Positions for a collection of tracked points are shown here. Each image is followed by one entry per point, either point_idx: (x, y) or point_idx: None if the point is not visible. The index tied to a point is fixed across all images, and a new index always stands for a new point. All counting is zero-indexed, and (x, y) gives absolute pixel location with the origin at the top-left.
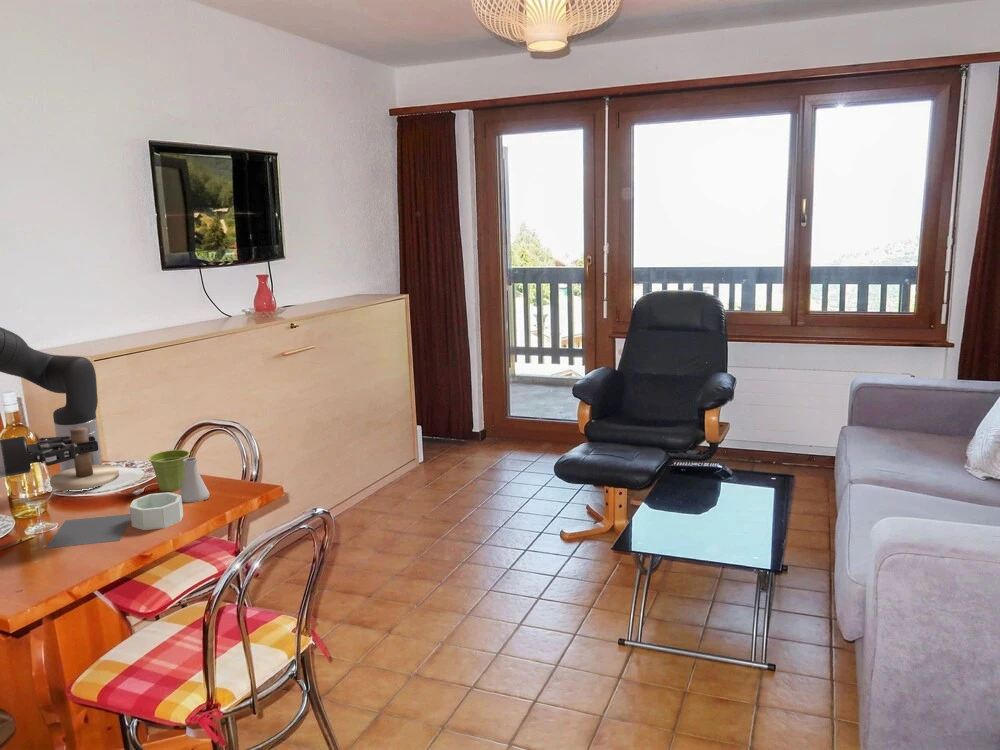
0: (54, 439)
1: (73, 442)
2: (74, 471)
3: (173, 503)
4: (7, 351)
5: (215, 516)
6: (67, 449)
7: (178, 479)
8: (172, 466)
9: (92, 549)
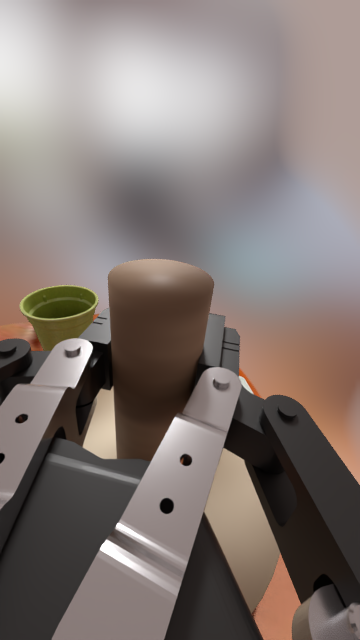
0: (13, 421)
1: (173, 369)
2: None
3: (246, 385)
4: None
5: (239, 369)
6: (333, 451)
7: None
8: (90, 318)
9: (278, 627)
